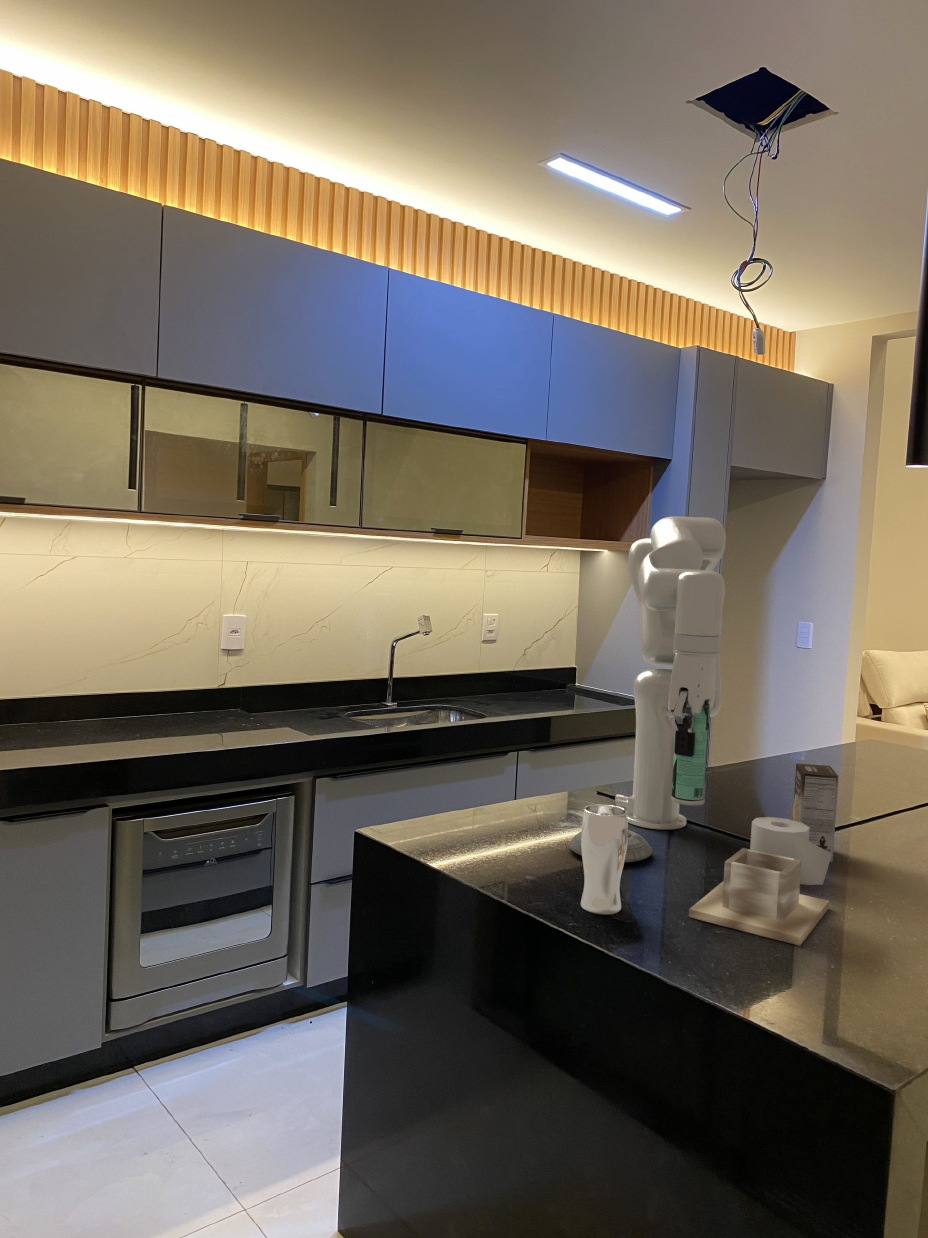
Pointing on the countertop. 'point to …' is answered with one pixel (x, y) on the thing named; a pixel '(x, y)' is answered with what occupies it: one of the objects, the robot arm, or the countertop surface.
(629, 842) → the flying saucer
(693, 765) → the spray can
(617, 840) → the beer glass
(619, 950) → the countertop surface
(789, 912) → the can caddy
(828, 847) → the coffee box
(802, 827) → the toilet tissue
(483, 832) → the countertop surface
